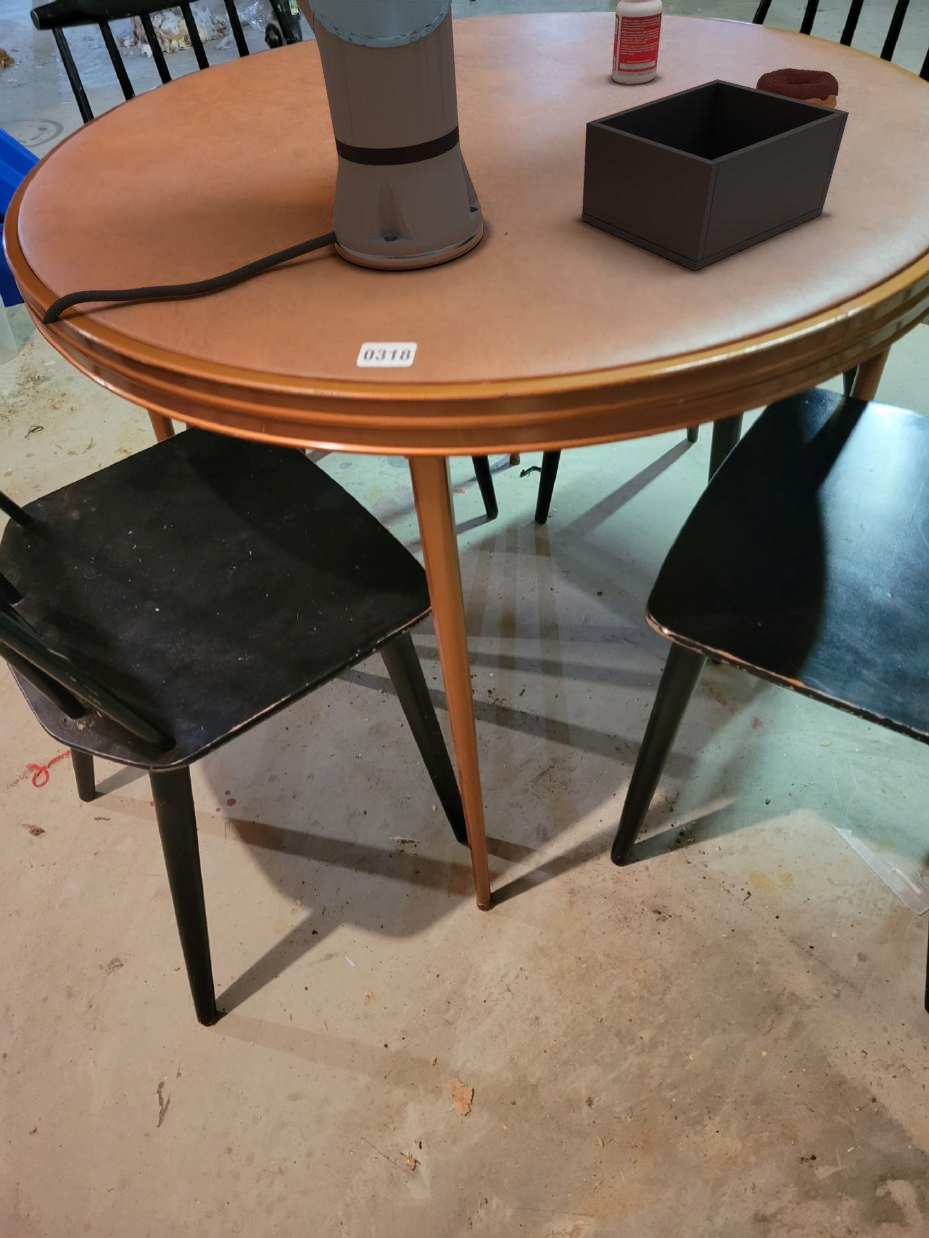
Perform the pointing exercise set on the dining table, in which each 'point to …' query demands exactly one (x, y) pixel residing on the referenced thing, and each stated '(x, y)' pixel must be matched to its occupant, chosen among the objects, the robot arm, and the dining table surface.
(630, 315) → the dining table surface
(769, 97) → the storage bin
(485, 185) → the dining table surface
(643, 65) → the pill bottle
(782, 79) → the donut
